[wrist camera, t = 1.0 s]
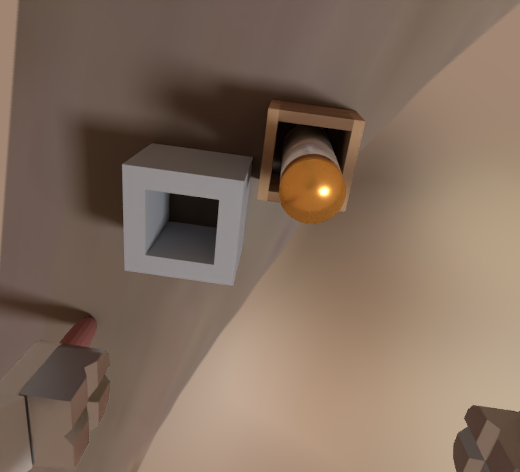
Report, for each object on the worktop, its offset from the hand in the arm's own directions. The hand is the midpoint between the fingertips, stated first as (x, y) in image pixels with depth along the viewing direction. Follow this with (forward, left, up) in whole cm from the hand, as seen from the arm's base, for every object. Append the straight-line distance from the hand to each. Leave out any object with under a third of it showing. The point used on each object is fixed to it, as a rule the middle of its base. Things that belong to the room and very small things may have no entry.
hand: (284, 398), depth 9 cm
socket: (+7, -8, -29) cm, 30 cm away
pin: (+1, +1, -29) cm, 29 cm away
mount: (+1, +1, -29) cm, 29 cm away
